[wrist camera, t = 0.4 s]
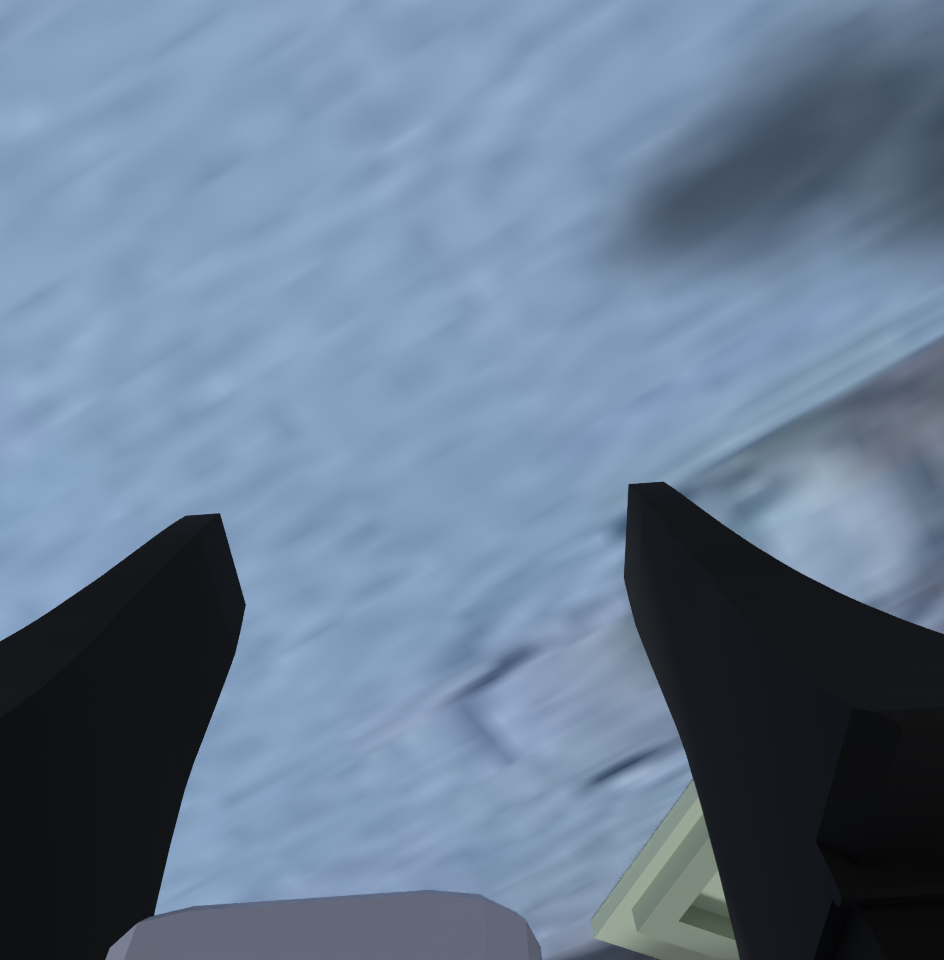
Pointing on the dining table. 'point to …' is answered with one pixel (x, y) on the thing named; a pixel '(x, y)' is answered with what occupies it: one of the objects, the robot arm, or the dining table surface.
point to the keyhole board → (671, 894)
